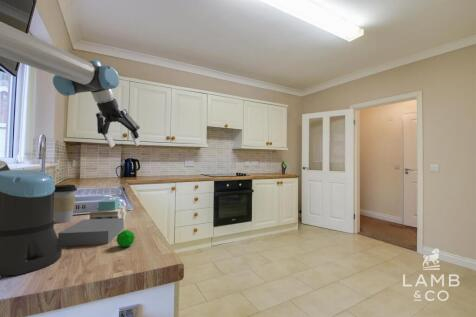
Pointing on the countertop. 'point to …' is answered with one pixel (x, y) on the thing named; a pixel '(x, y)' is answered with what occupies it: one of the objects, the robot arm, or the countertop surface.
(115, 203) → the teal block
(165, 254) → the countertop surface
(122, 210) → the pallet
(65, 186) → the coffee cup
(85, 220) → the dock
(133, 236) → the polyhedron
